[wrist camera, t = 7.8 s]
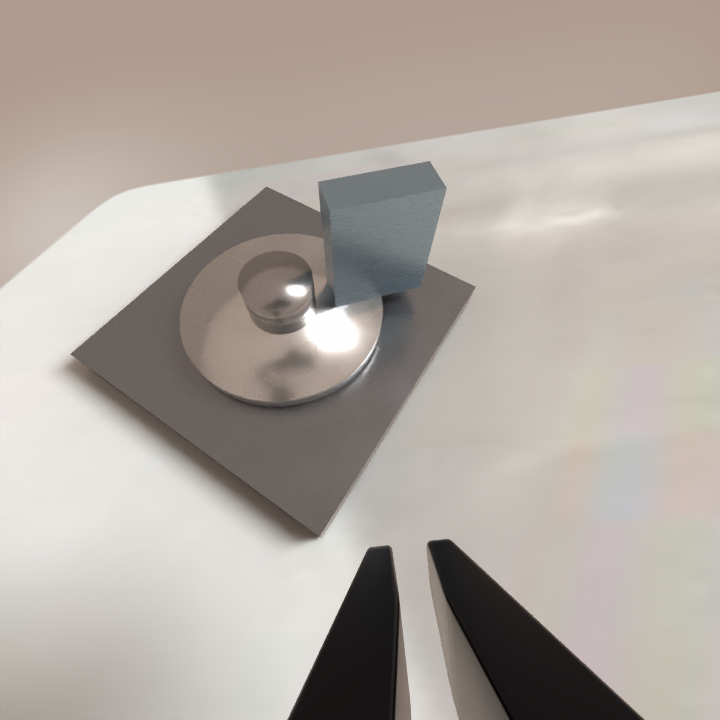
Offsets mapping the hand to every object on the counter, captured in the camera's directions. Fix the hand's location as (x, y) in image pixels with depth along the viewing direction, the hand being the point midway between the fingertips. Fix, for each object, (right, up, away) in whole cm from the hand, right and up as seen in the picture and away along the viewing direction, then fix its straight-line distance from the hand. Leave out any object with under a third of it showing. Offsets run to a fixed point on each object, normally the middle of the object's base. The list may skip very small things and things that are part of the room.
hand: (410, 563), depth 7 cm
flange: (-4, +7, +16) cm, 18 cm away
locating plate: (-6, +6, +18) cm, 20 cm away
